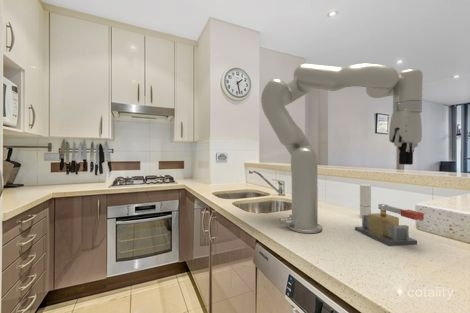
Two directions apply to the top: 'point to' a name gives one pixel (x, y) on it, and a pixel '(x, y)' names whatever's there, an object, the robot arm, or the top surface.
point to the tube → (365, 199)
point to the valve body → (385, 229)
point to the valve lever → (403, 212)
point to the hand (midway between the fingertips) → (405, 164)
